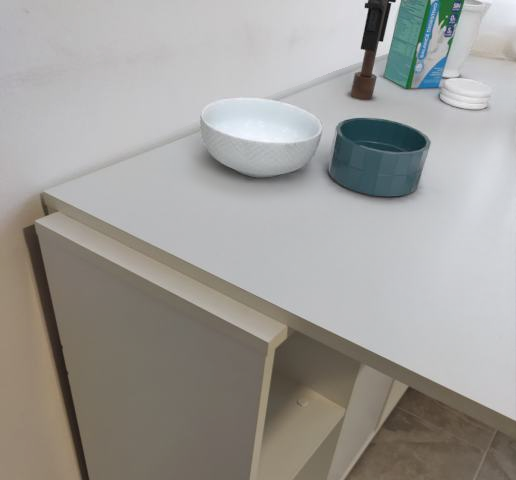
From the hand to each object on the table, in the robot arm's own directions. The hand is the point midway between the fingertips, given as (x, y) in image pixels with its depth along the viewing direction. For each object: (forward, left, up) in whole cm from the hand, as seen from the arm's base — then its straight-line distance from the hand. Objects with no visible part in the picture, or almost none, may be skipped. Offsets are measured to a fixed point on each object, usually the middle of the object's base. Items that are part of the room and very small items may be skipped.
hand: (372, 44), depth 103 cm
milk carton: (-8, -18, -10) cm, 22 cm away
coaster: (-20, -10, -10) cm, 24 cm away
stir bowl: (-9, +39, -9) cm, 41 cm away
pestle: (0, 0, -9) cm, 9 cm away
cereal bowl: (+7, +44, -10) cm, 46 cm away
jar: (-14, -31, -10) cm, 35 cm away
